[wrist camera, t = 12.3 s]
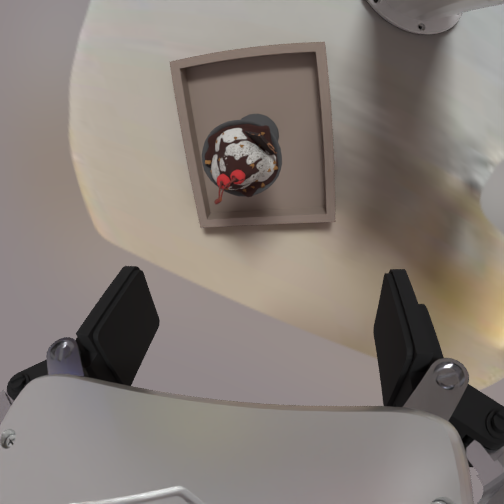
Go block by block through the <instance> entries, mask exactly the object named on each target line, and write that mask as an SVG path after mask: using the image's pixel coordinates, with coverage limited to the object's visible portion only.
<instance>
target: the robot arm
mask: <svg viewBox="0 0 504 504" xmlns="http://www.w3.org/2000/svg"><path fill="white" fill-rule="evenodd" d="M367 2H368V3H369V4H370V5H371V6H372V8H373V9H374V10H375V11H376V12H377V13H378V14H379V15H380V16H381V17H383V18H384V19H385V20H387V21H388V22H390V23H391V24H393V25H395V26H397V27H398V28H400V29H402V30H406V31H408V32H411V33H417V34H436V33H440V32H444V31H447V30H448V29H450V28H451V27H453V26H454V25H455V24H456V23H457V22H458V21H459V19H460V17H461V15H462V13H463V12H467V11H471V10H476V9H480V8H485V7H490V6H495V5H500V4H504V0H377V3H375V2H374V1H373V0H367ZM418 26H420V27H421V29H419V28H418ZM158 327H159V317H158V314H157V311H156V308H155V305H154V303H153V300H152V297H151V294H150V291H149V288H148V285H147V282H146V279H145V276H144V273H143V271H141V270H140V269H139V268H138V267H136V266H125V267H123V268H122V270H121V271H120V272H119V274H118V275H117V276H116V278H115V279H114V280H113V282H112V283H111V284H110V286H109V287H108V289H107V290H106V291H105V293H104V294H103V295H102V297H101V298H100V300H99V301H98V303H97V304H96V305H95V307H94V308H93V309H92V311H91V312H90V314H89V315H88V317H87V318H86V320H85V321H84V322H83V324H82V325H81V327H80V328H79V330H78V331H77V333H76V335H77V339H76V340H74V339H73V338H70V337H64V338H61V339H59V340H57V341H55V342H54V343H53V344H52V345H51V346H50V347H49V349H48V351H47V356H46V357H47V360H45V361H43V362H40V363H38V364H36V365H34V366H32V367H30V368H28V369H26V370H23V371H21V372H19V373H17V374H16V375H14V376H13V377H12V378H11V379H10V381H9V382H8V386H7V392H5V391H2V392H0V504H474V501H473V491H472V482H471V475H470V469H469V467H474V468H475V469H476V471H477V472H478V473H479V474H478V475H477V477H478V478H479V479H480V481H481V483H482V485H483V490H484V491H483V495H482V498H481V499H480V501H479V502H478V503H477V504H504V407H503V406H502V405H500V404H499V403H497V402H496V401H494V400H493V399H491V398H489V397H488V396H486V395H485V394H483V393H482V392H480V391H478V390H477V389H475V388H474V387H472V386H471V385H469V384H468V382H469V374H468V372H467V369H466V368H465V367H464V365H463V364H462V363H460V362H459V361H457V360H454V359H452V358H444V357H443V354H442V351H441V348H440V345H439V342H438V339H437V336H436V333H435V330H434V327H433V324H432V321H431V318H430V315H429V313H428V310H427V308H426V306H425V305H424V304H418V302H417V299H416V296H415V293H414V291H413V288H412V285H411V283H410V280H409V277H408V275H407V272H406V270H405V269H391V270H390V271H389V273H385V275H384V279H383V284H382V290H381V295H380V300H379V305H378V310H377V314H376V319H375V324H374V339H375V345H376V352H377V358H378V365H379V372H380V380H381V387H382V395H383V404H384V406H296V405H275V404H260V403H246V402H235V401H225V400H216V399H208V398H200V397H192V396H185V395H179V394H172V393H165V392H160V391H153V390H148V389H142V388H138V387H132V386H131V384H132V382H133V380H134V378H135V375H136V373H137V371H138V369H139V367H140V365H141V363H142V360H143V358H144V356H145V354H146V352H147V350H148V348H149V346H150V344H151V341H152V340H153V337H154V335H155V333H156V331H157V329H158Z"/></svg>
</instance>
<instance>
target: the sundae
mask: <svg viewBox="0 0 504 504" xmlns="http://www.w3.org/2000/svg"><path fill="white" fill-rule="evenodd" d="M278 139H279V132H278V128H277V126H276V124H275V123H274V121H272V120H271V119H270V118H269V117H267V116H265V115H262V114H249V115H247V116H245V117H243V118H242V119H241V120H233V121H227V122H225V123H223V124H220V125H219V126H217V127H215V128H214V129H213V130H212V131H211V132H210V134H209V135H208V137H207V138H206V140H205V142H204V146H203V150H202V164H203V168H204V171H205V173H206V174H207V176H208V177H209V179H210V180H211V181H212V182H213V183H214V184H215V185H216V186H218V187H219V197H218V199H216V200H215V201H214V203H215V204H218V203H220V202H221V201H222V195H223V191H225V192H227V193H229V194H232V195H235V196H245V197H252V196H254V195H256V194H259V193H261V192H263V191H265V190H266V189H268V188H269V187H270V186H271V185H272V184H273V183H274V182H275V181H276V179H277V178H278V176H279V174H280V171H281V166H282V154H281V148H280V146H279V143H278ZM221 189H222V192H221V196H220V191H221Z"/></svg>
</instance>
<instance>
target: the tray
mask: <svg viewBox="0 0 504 504" xmlns="http://www.w3.org/2000/svg"><path fill="white" fill-rule="evenodd" d="M170 67H171V74H172V80H173V86H174V92H175V98H176V104H177V109H178V115H179V121H180V126H181V132H182V137H183V143H184V148H185V153H186V158H187V164H188V169H189V174H190V179H191V184H192V189H193V194H194V198H195V203H196V208H197V213H198V217H199V222H200V227H201V228H204V227H223V226H243V225H264V224H288V223H315V222H335V174H334V148H333V129H332V114H331V100H330V88H329V77H328V66H327V57H326V48H325V42H310V43H291V44H278V45H268V46H258V47H250V48H242V49H235V50H228V51H222V52H216V53H210V54H205V55H200V56H195V57H190V58H185V59H180V60H176V61H172V62H170ZM249 114H262V115H265V116H267V117H269V118H270V119H271V120H272V121H274V123H275V124H276V126H277V128H278V132H279V139H278V143H279V146H280V148H281V154H282V166H281V171H280V174H279V176H278V178H277V179H276V181H275V182H274V183H273V184H272V185H271V186H270V187H269V188H268V189H266V190H265V191H263V192H261V193H259V194H256V195H254V196H252V197H245V196H235V195H232V194H229V193H227V192H225V191H223V195H222V201H221V202H220V203H218V204H215V203H214V201H215V200H216V199H218V197H219V187H218V186H216V185H215V184H214V183H213V182H212V181H211V180H210V179H209V177H208V176H207V174H206V173H205V171H204V168H203V164H202V150H203V146H204V142H205V140H206V138H207V137H208V135H209V134H210V132H211V131H212V130H213V129H214V128H215V127H217V126H219V125H220V124H223V123H225V122H227V121H233V120H241V119H242V118H243V117H245V116H247V115H249ZM221 192H222V189H221V191H220V196H221Z"/></svg>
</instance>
